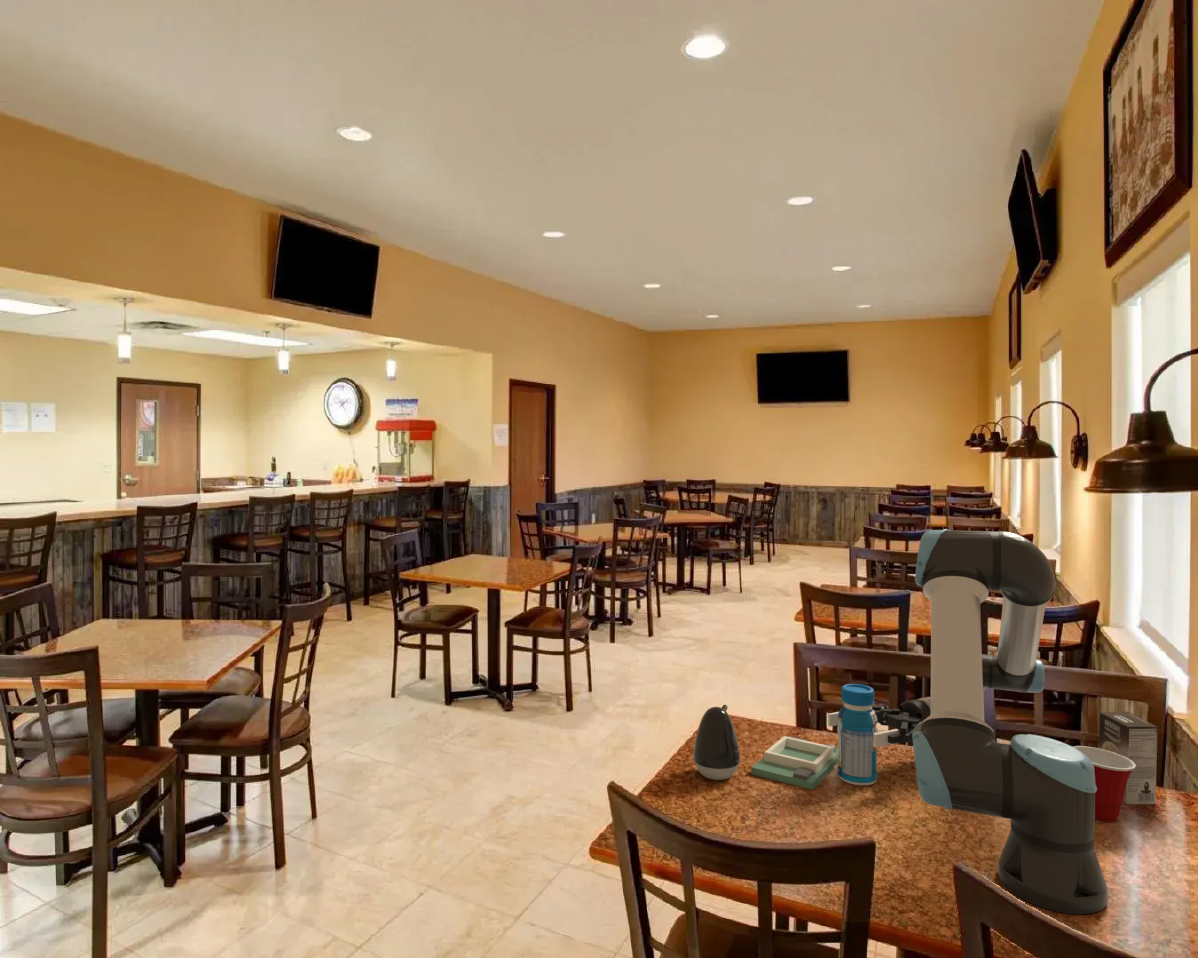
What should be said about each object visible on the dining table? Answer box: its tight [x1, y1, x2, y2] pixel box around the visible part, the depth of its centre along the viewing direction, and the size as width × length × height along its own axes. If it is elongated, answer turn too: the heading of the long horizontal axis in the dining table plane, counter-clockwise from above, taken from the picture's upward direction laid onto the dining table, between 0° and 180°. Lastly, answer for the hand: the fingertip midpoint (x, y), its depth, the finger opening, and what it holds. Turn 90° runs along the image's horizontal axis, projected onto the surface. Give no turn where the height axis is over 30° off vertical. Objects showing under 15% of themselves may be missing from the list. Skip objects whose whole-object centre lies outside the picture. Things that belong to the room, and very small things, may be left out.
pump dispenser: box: [692, 704, 741, 781], centre depth 164 cm, size 10×10×15 cm
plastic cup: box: [1073, 745, 1136, 823], centre depth 145 cm, size 11×11×12 cm
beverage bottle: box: [836, 683, 879, 786], centre depth 162 cm, size 8×8×20 cm
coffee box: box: [1098, 711, 1158, 805], centre depth 154 cm, size 9×6×16 cm
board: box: [750, 735, 838, 791], centre depth 170 cm, size 22×14×4 cm, turn 145°
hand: (850, 729), depth 162 cm, fingers open, 13 cm apart
